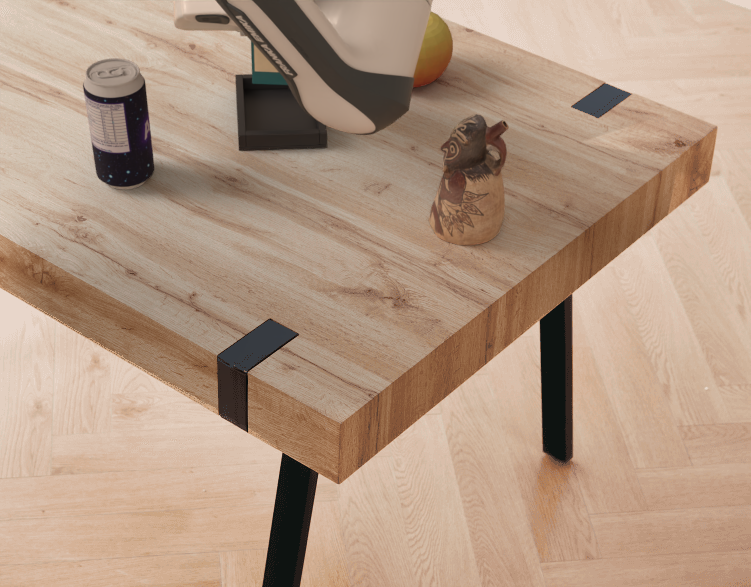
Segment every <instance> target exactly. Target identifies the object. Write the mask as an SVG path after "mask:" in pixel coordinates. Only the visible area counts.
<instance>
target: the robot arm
mask: <svg viewBox="0 0 751 587" xmlns="http://www.w3.org/2000/svg"><path fill="white" fill-rule="evenodd" d="M172 1H173V4H172V5H173V25H174V28H176V29H179V30H181V31H188V32H189V31H190V32H192V31H193V32H194V31H195V32H196V31H197V32H200V31H201V32H202V31H207V32H208V31H209V32H213V31H214V32H237V33H239V35H240V37H247V38H248V40H249V41H250V43H251V42H252V43H253V44H254V45H255V46H256V47H257V48H258V49H259V50H260V52H261V53H262V54H263V55H264V56H265V57H266V58H267V59H268V60H269V62H270V63H271V64H272V65H273V66H274V67H275V68H276V69H277V71H278V72H279V73H280V74H281V75H282V76H283V78H284V79H285V80H286V82H287V84H288V86H289V88H290V90H291V92H292V94H293V95H294V97H295V99H296V100H297V102H298V103H299V105H300V106H301V107H302V109H303V110H304V111H305V112H306V113H307V114H308V115H309V116H311V117H312V118H314V119H315V120H317V121H319V122H321V123H323V124H324V125H326V127H328V128H331V129H333V130H335V131H340V132H344V133H348V134H353V135H359V136H371V135H374V134H376V133H378V132H381V131H383V130H384V129H386V128H388V127H389V126H391V125H392V124H394V123H395V122H397V121H398V120H400V119H401V118H402V117H403V116H405V114H407V113H408V112H409V111H410V105H411V101H412V96H413V95H412V94H413V90H414V89H413V88H414V87H413V84H414V79H415V78H413V76H414V72H415V69H416V65H417V61H418V57H419V54H420V50H421V46H422V42H423V38H424V35H425V31H426V27H427V23H428V20H429V16H430V12H432V5H433V1H434V0H172Z"/></svg>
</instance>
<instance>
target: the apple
mask: <svg viewBox="0 0 751 587" xmlns="http://www.w3.org/2000/svg"><path fill="white" fill-rule="evenodd" d="M453 51H454V40H453V36H452V32H451V29H450V28H449V25H448V24H447V23H446V22H445V20H444V19H443V18H442V17H441V16H440V15H439V14H437V13H436V12H433V11H431V12H430V16H429V20H428V23H427V27H426V31H425V35H424V38H423V42H422V46H421V50H420V54H419V57H418V61H417V65H416V69H415V72H414V76H413V78H415V79H414V84H413V88H421V87H424V86H428V85H430V84H432V83H434V82H435V81H436V80H437V79H439V78H440V77H441V76H442V75H443V74H444V72H445V71H446V70H447V68H448V67H449V65H450V62H451V61H452V58H453V56H452V55H453Z"/></svg>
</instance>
